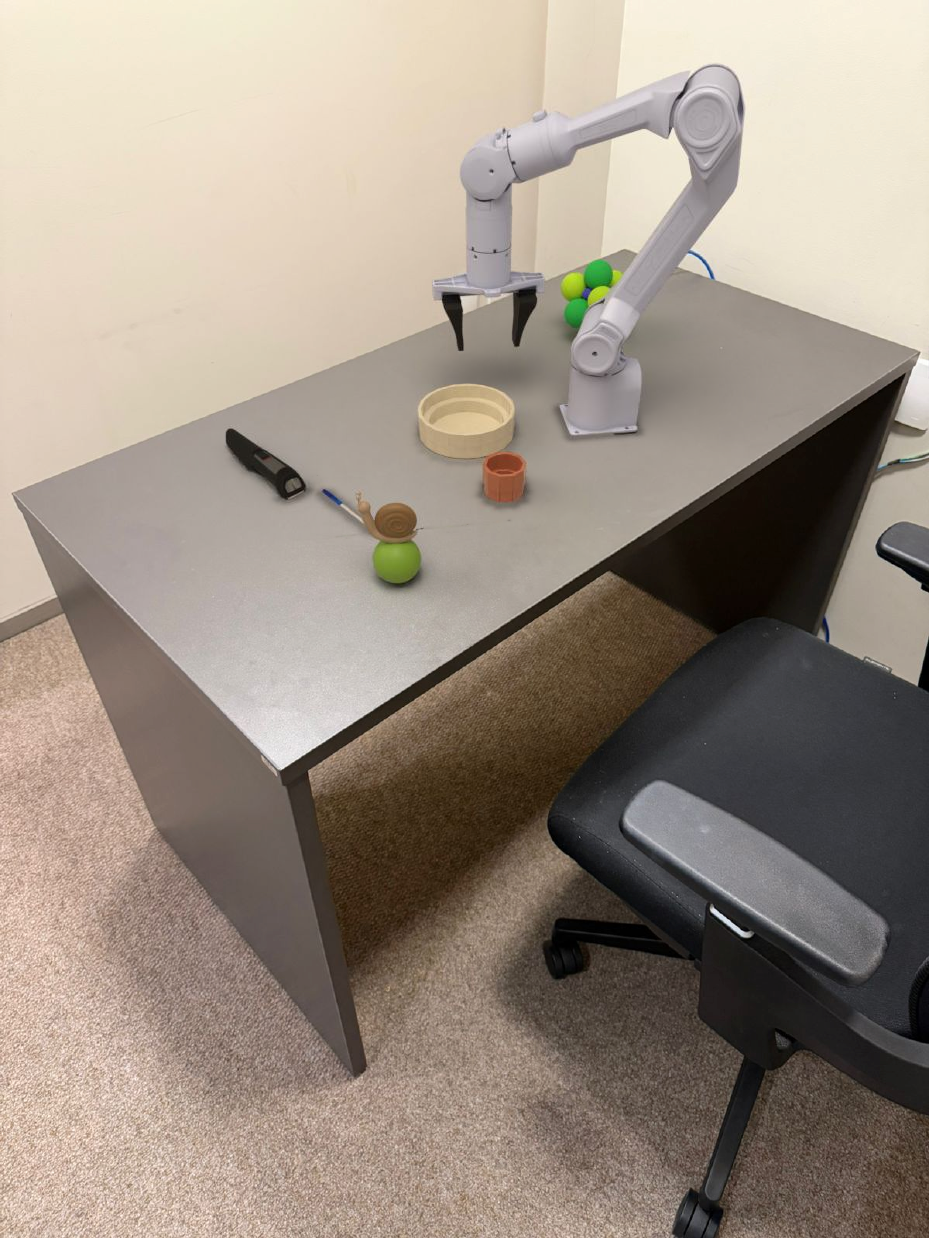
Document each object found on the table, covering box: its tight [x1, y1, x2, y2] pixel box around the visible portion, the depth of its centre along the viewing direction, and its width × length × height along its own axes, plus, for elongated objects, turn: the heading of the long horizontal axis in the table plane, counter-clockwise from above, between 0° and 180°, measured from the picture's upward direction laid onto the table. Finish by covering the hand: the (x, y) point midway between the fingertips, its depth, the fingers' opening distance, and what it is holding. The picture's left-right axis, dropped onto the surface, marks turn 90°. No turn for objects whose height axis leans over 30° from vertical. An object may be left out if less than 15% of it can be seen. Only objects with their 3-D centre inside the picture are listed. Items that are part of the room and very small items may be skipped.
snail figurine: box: [355, 490, 422, 584], centre depth 94 cm, size 5×6×12 cm
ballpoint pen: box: [321, 488, 364, 525], centre depth 107 cm, size 10×1×1 cm, turn 43°
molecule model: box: [560, 259, 624, 329], centre depth 135 cm, size 9×9×9 cm
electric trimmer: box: [225, 427, 307, 500], centre depth 113 cm, size 4×16×3 cm, turn 41°
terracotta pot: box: [482, 451, 527, 504], centre depth 108 cm, size 5×5×4 cm
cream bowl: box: [417, 383, 516, 460], centre depth 118 cm, size 13×13×4 cm
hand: (488, 345), depth 118 cm, fingers open, 7 cm apart
